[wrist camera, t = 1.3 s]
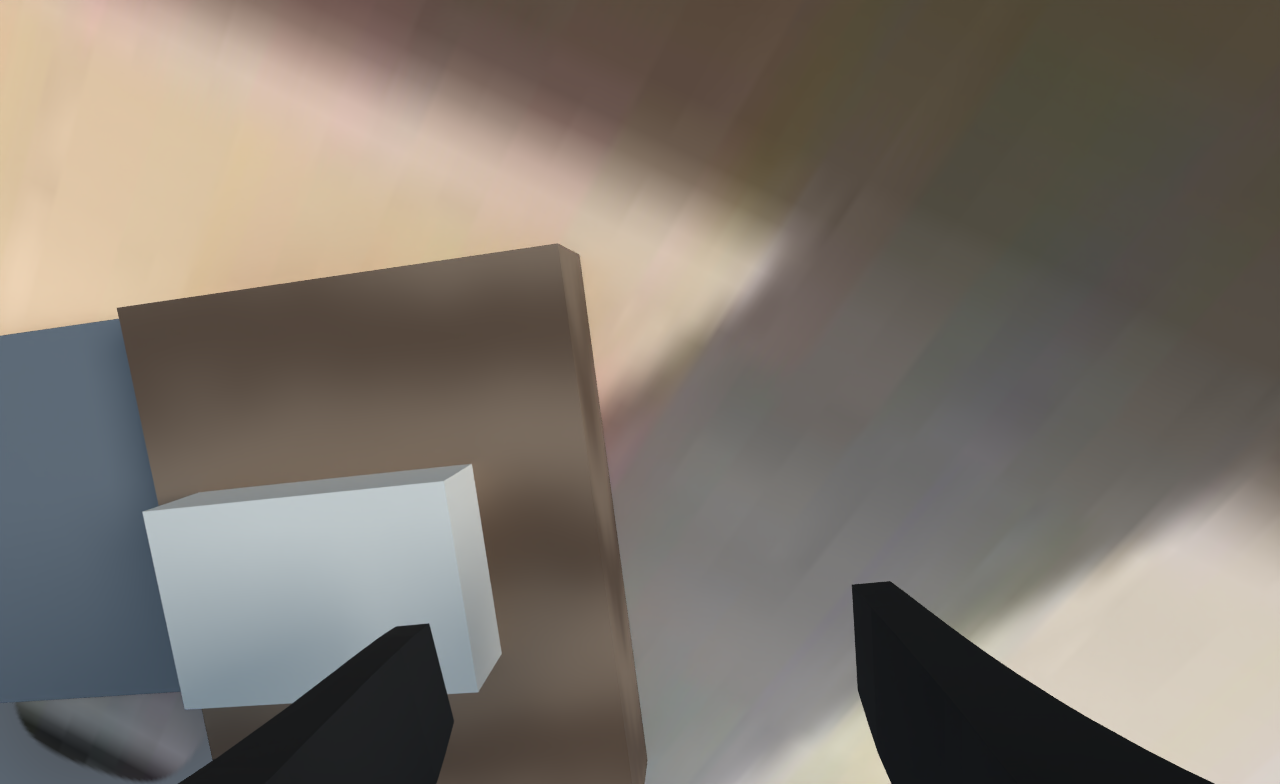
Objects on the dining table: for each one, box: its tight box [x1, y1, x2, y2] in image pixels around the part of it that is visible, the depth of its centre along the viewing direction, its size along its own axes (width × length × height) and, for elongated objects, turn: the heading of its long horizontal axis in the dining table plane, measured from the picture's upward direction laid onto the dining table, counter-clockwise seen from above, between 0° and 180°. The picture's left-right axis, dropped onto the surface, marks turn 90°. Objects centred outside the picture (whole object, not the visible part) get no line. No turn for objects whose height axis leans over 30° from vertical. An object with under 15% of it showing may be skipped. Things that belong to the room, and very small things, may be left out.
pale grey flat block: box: [142, 464, 502, 710], centre depth 18 cm, size 9×6×2 cm, turn 97°
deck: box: [117, 244, 647, 784], centre depth 21 cm, size 18×14×3 cm
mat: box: [0, 319, 181, 703], centre depth 23 cm, size 14×13×1 cm
